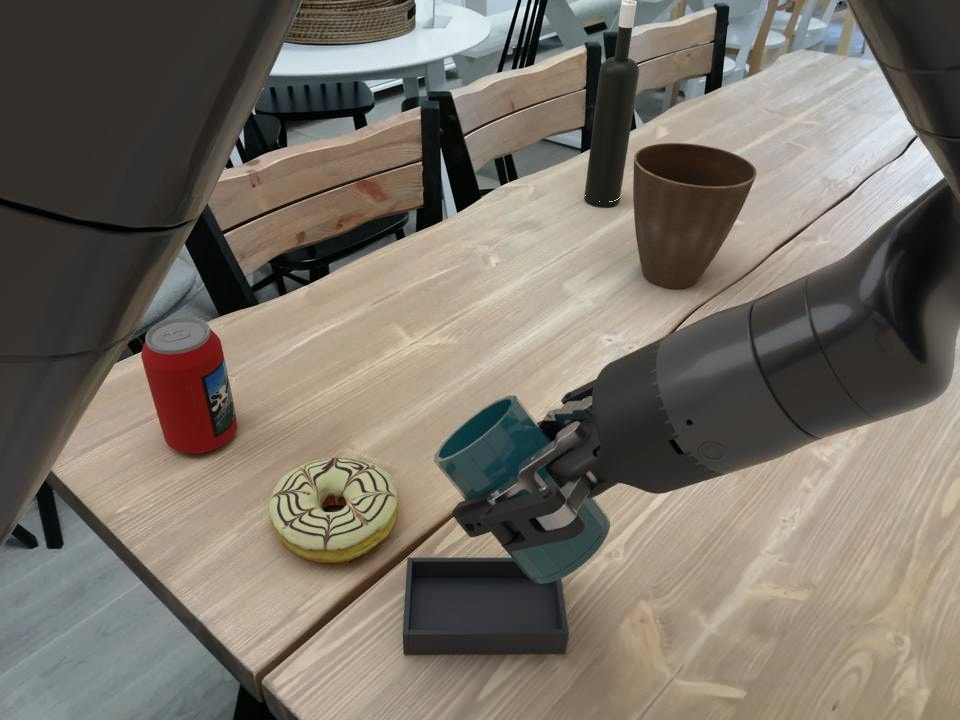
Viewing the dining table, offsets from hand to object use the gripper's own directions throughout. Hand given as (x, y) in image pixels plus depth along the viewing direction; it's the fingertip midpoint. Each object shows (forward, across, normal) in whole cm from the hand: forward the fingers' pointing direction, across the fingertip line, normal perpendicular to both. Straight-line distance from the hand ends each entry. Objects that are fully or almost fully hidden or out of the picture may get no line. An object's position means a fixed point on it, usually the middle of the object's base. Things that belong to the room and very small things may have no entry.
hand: (489, 484), depth 48 cm
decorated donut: (+21, -2, -1) cm, 21 cm away
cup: (-2, 0, +6) cm, 6 cm away
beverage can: (+34, -5, -13) cm, 36 cm away
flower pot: (+12, -61, +9) cm, 62 cm away
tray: (+10, 0, +10) cm, 14 cm away
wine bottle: (+24, -80, -3) cm, 83 cm away
